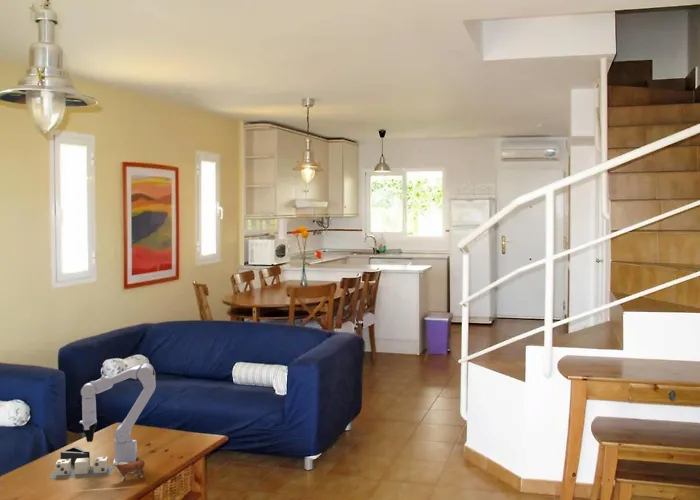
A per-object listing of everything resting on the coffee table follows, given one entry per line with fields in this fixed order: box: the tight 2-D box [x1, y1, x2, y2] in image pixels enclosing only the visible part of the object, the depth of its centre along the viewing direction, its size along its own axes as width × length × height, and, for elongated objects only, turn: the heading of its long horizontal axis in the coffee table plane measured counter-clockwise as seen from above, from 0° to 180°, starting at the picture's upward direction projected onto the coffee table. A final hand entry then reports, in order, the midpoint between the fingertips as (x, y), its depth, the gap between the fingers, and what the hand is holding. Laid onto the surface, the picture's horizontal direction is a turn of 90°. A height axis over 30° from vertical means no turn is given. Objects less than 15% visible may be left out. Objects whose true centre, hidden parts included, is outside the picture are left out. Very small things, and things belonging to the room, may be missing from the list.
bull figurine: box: [111, 459, 146, 482], centre depth 297 cm, size 4×13×8 cm, turn 114°
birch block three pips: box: [55, 458, 72, 475], centre depth 303 cm, size 5×5×5 cm
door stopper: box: [60, 445, 91, 466], centre depth 315 cm, size 9×6×12 cm
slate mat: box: [48, 464, 113, 480], centre depth 305 cm, size 24×12×1 cm, turn 100°
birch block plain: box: [74, 458, 91, 474], centre depth 305 cm, size 5×5×5 cm
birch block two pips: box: [93, 456, 109, 473], centre depth 306 cm, size 5×5×5 cm
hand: (89, 441), depth 317 cm, fingers closed
